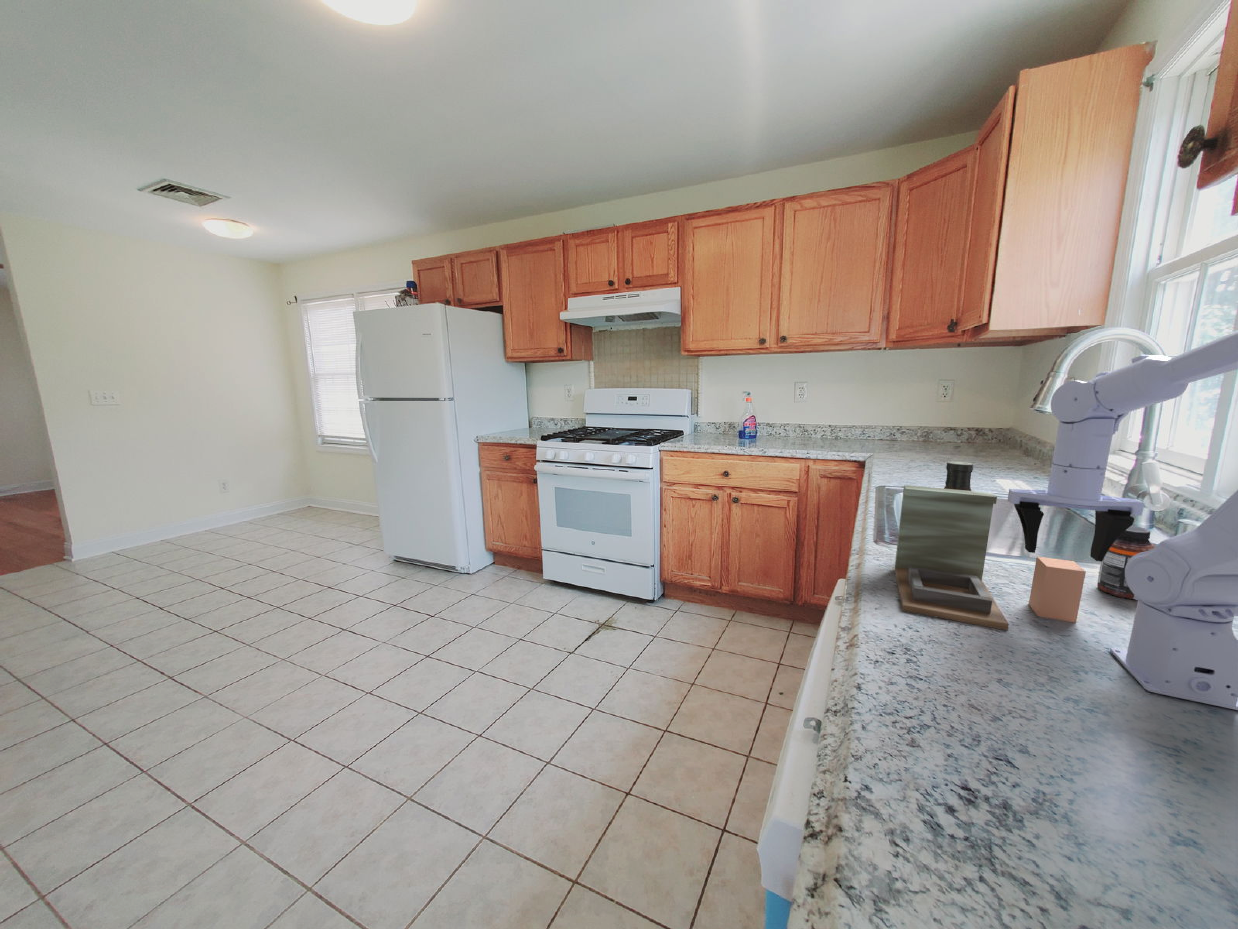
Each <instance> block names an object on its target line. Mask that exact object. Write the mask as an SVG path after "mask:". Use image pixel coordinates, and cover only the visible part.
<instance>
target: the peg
mask: <svg viewBox="0 0 1238 929" xmlns="http://www.w3.org/2000/svg"><path fill="white" fill-rule="evenodd" d="M1085 578H1086V570H1085V569H1084V568H1082V567H1081V566H1080V565H1078V563H1076V562H1075V561H1074V560H1066V559H1060V558H1059V559H1058V558H1051V557H1045V556H1044V557H1043V556H1036V559H1035V565H1034V572H1033V577H1032V583H1031V587H1030V588H1031V589H1030V595H1029V599H1028V605H1029V606H1030V608H1031V609H1032V610H1033V612H1034V613H1035V614H1036V616H1038V617H1040V618H1045V619H1046V618H1048V619H1052V620H1059V621H1064V622H1069V623H1075V624H1076V623H1077V620H1078V614H1079V609H1080V605H1081V598H1082V593H1083V589H1084V583H1085Z"/></svg>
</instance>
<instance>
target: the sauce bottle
mask: <svg viewBox="0 0 1238 929" xmlns="http://www.w3.org/2000/svg"><path fill="white" fill-rule="evenodd" d="M945 469H946V477H945V478H946V480H945V485H944V487H943V489H954V490H965V491H972V488H971V479H972V473H973V470H974V464H973V463H971V462H967V461H966V462H965V461H947V462H946V467H945Z"/></svg>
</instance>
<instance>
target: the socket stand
mask: <svg viewBox="0 0 1238 929" xmlns="http://www.w3.org/2000/svg"><path fill="white" fill-rule="evenodd" d="M997 500H998V496H997V495H996V494H995V493H993V492H984V491H975V490H973V491H972V490H971V491H965V490H954V489H944V488H942V487H941V488H939V487H930V486H928V487H927V486H919V485H907V484H904V485H903V490H902V500H901V509H900V517H899V526H898V534H897V535H898V536H897V543H896V551H895V561H894V568H895V570H894V573H896V575H895V579H896V578H897V580H896V584H898V585H897V590H898V589H899V590H898V595H899V594H900V595H899V601H900V600H901V601H900V605H902V606H901V610H903V611H902V612H906V611H907V612H908V613H912V614H917V613H918V614H917V615H923V614H924V615H923V616H929V617H933V616H937V617H936V618H937V619H938V618H939V617H940V618H941V619H945V620H949V619H950V620H951V621H955V622H960V623H966V624H971V625H976V626H982V627H988V628H992V629H999V630H1002V631H1003V630H1004V631H1008V630H1009V625H1010V624H1009V622H1008V620H1007V618H1006V617H1005V615H1004V613H1003V612H1002V611H1001V608H1000V607H999V606H998V604H997V602H996V600H994V597H993V596H992V594H991V593H990V591H989V589H988V588H987V586H986V584H985V583H984V581H983V575H984V569H985V561H986V556H987V550H988V549H987V548H988V543H989V542H988V541H989V535H990V529H991V522H992V516H993V508H994V505H996V504H997Z"/></svg>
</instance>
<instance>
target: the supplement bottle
mask: <svg viewBox="0 0 1238 929" xmlns="http://www.w3.org/2000/svg"><path fill="white" fill-rule="evenodd" d="M1150 537H1151V531H1150V530H1149V529H1148V528H1145V527H1141V526H1136V525H1132V526H1130V527H1129V528H1128V529H1127V530H1125V531H1124V532H1123V533H1122V534H1121V535H1120V536H1119V537H1118V538H1117V539H1116V541H1115V542H1114V543H1113V544H1112V546H1111V547H1110V549H1109V550H1108V552H1107V553H1106V555H1105V557H1104V559H1103V561H1102V562H1101V561H1100V564H1099V571H1098V572H1097V573H1098V577H1097V585H1096V586H1097V588H1098V590H1100V589H1101V590H1100V591H1102V592H1104V593H1106V592H1107V593H1106V594H1108V593H1109V595H1111V596H1113V595H1114V597H1118V598H1123V599H1128V600H1135V599H1134V594H1133V592H1132V591H1131V590H1130V588H1129V587H1128V585H1127V582H1126V579H1125V567H1126V564H1127V562H1128V561H1129V559H1130V558H1131V557H1133V556H1134V555H1136V554H1138V553H1141V552H1146V551H1149V550H1151V549H1153V548H1155V547H1156V545H1154V543H1152V542H1151V541H1150Z"/></svg>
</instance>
